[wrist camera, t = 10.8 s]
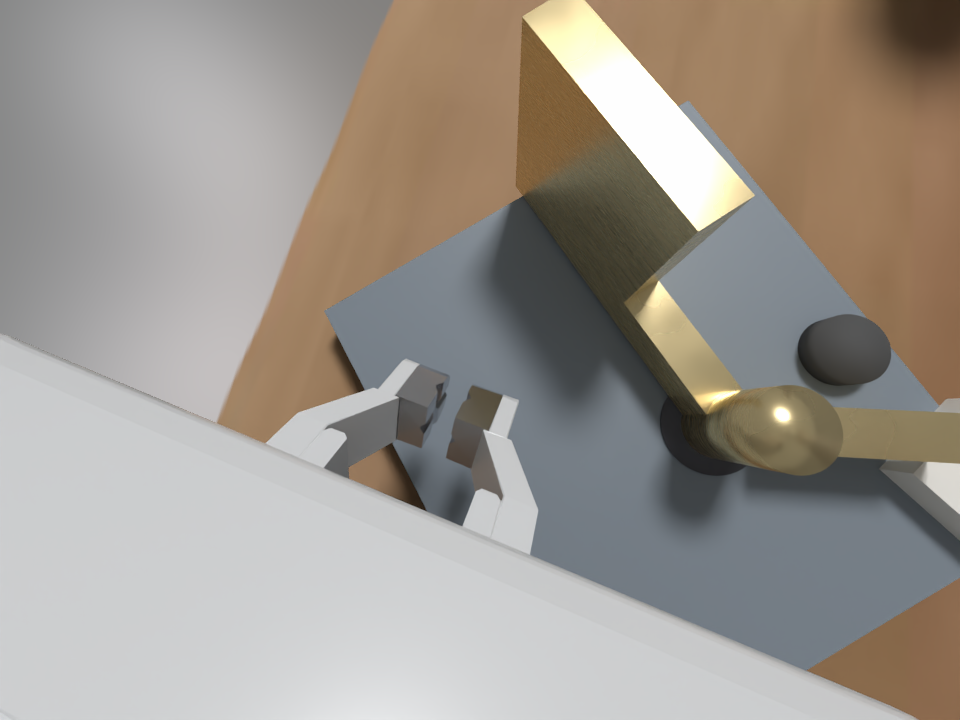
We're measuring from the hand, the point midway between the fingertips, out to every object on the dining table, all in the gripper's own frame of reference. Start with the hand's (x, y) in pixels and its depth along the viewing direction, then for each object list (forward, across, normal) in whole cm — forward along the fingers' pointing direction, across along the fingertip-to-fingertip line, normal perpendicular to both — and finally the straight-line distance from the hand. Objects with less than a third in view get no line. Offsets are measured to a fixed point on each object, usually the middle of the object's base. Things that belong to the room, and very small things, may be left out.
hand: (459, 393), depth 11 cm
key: (+7, -7, -1) cm, 10 cm away
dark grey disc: (+8, -14, -2) cm, 16 cm away
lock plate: (+6, -7, +3) cm, 10 cm away
